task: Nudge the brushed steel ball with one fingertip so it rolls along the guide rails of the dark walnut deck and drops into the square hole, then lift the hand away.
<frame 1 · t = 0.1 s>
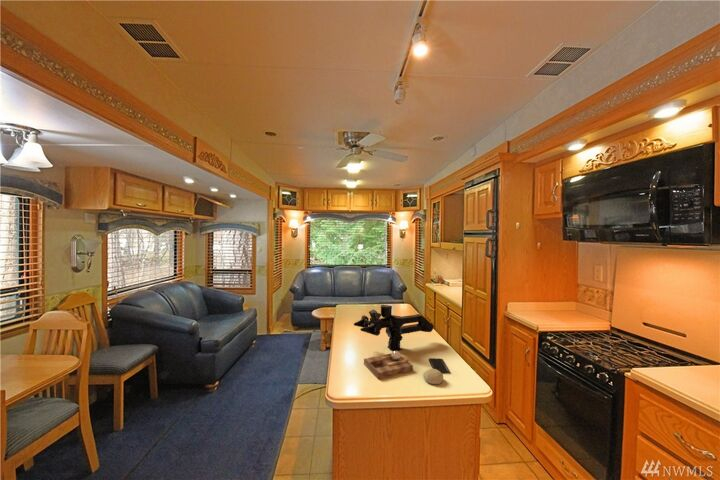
hand: (357, 326, 154), 17 cm above the table, tool horizontal, fingers open, 9 cm apart
hole deck: (387, 367, 141), on the table
steel ball: (396, 355, 143), point 5 cm above the table, touching hole deck
phone: (438, 367, 144), on the table
sea urchin shell: (433, 381, 130), on the table
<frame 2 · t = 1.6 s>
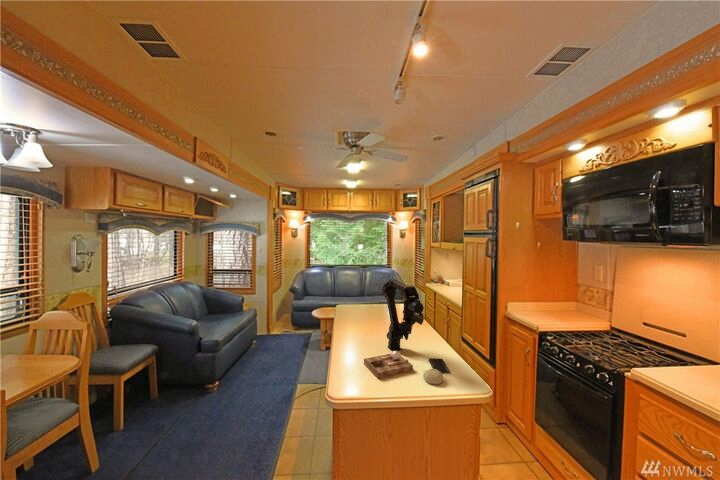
hand: (408, 336, 150), 13 cm above the table, tool pointing down, fingers open, 9 cm apart
nothing on the table moved.
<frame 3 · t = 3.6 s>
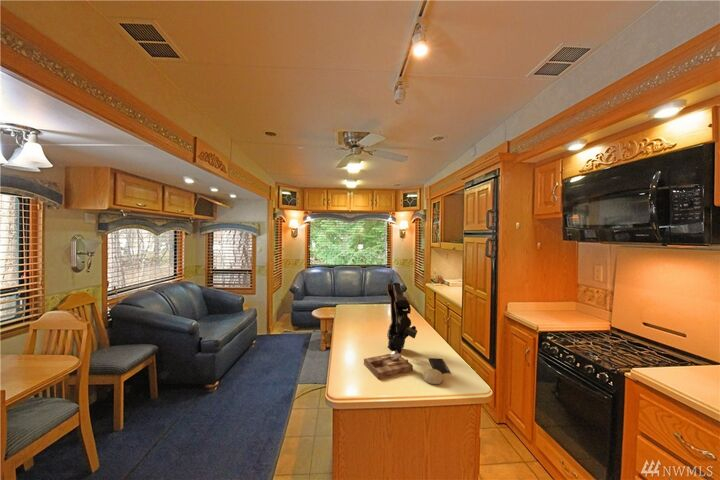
hand: (401, 350, 148), 6 cm above the table, tool pointing down, fingers open, 8 cm apart
steel ball: (395, 355, 143), point 5 cm above the table, tilted 13°, touching gripper, hole deck
everything else where it was.
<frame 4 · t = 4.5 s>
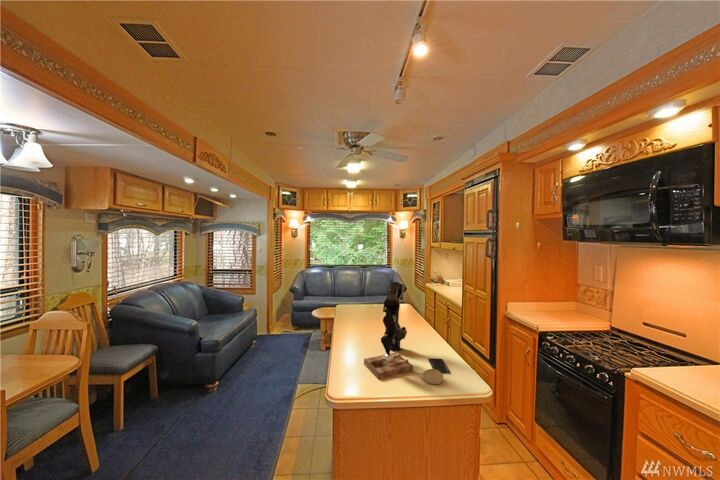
hand: (390, 352, 143), 7 cm above the table, tool pointing down, fingers open, 9 cm apart
steel ball: (388, 358, 140), point 5 cm above the table, tilted 119°, touching gripper, hole deck
everything else where it was.
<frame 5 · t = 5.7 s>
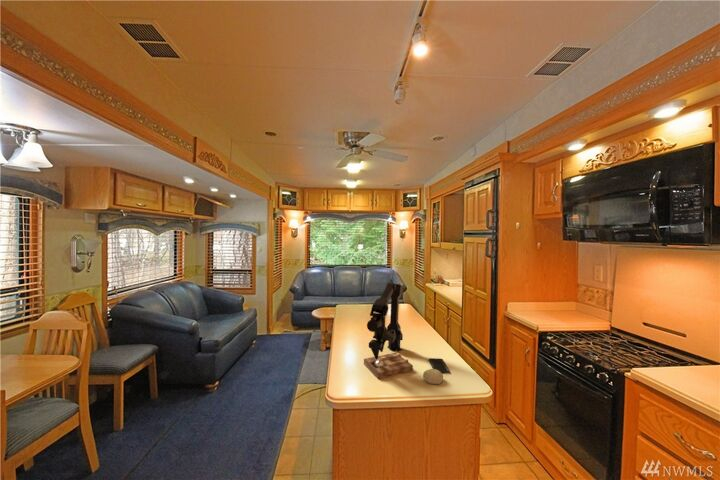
hand: (379, 355, 142), 6 cm above the table, tool pointing down, fingers open, 9 cm apart
steel ball: (379, 365, 139), point 2 cm above the table, tilted 106°
everything else where it was.
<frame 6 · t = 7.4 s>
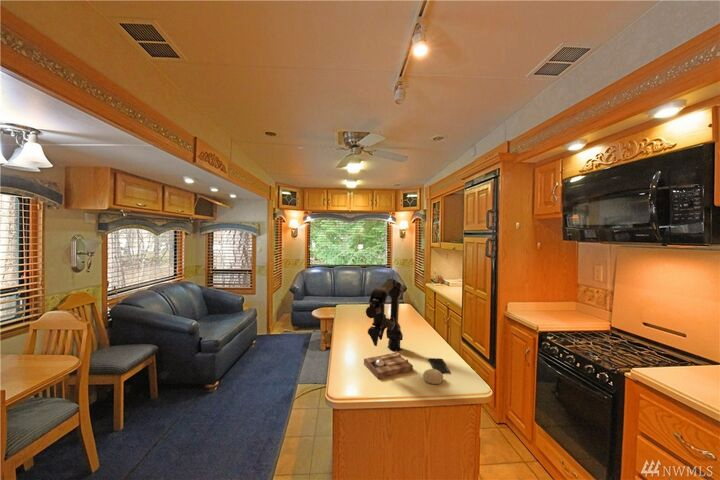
hand: (378, 342, 142), 13 cm above the table, tool pointing down, fingers open, 9 cm apart
nothing on the table moved.
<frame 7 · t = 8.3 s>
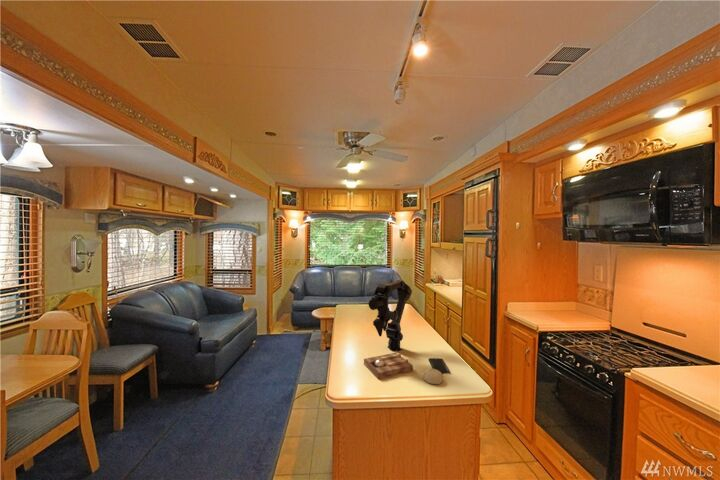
hand: (382, 333, 154), 13 cm above the table, tool pointing down, fingers open, 9 cm apart
steel ball: (379, 364, 139), point 2 cm above the table, tilted 105°
everything else where it was.
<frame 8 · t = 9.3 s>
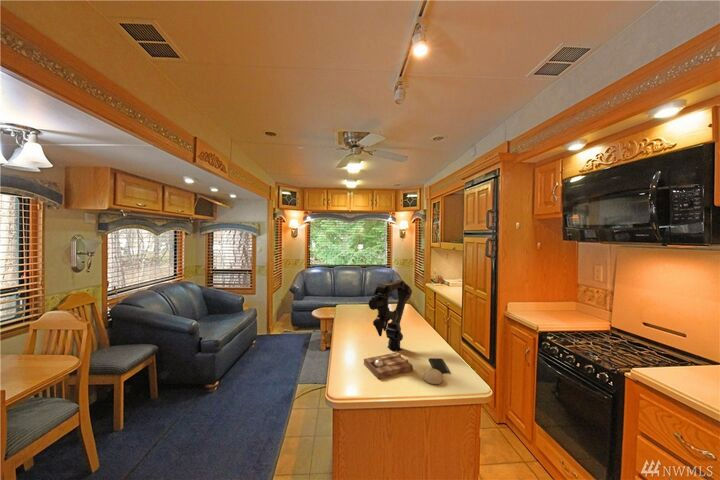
hand: (382, 333, 154), 13 cm above the table, tool pointing down, fingers open, 9 cm apart
steel ball: (378, 364, 139), point 2 cm above the table, tilted 99°
everything else where it was.
at the end: steel ball 1.1 cm from the target spot on the hole deck, point 2.5 cm above the hole deck's base; the gripper is holding nothing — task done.
